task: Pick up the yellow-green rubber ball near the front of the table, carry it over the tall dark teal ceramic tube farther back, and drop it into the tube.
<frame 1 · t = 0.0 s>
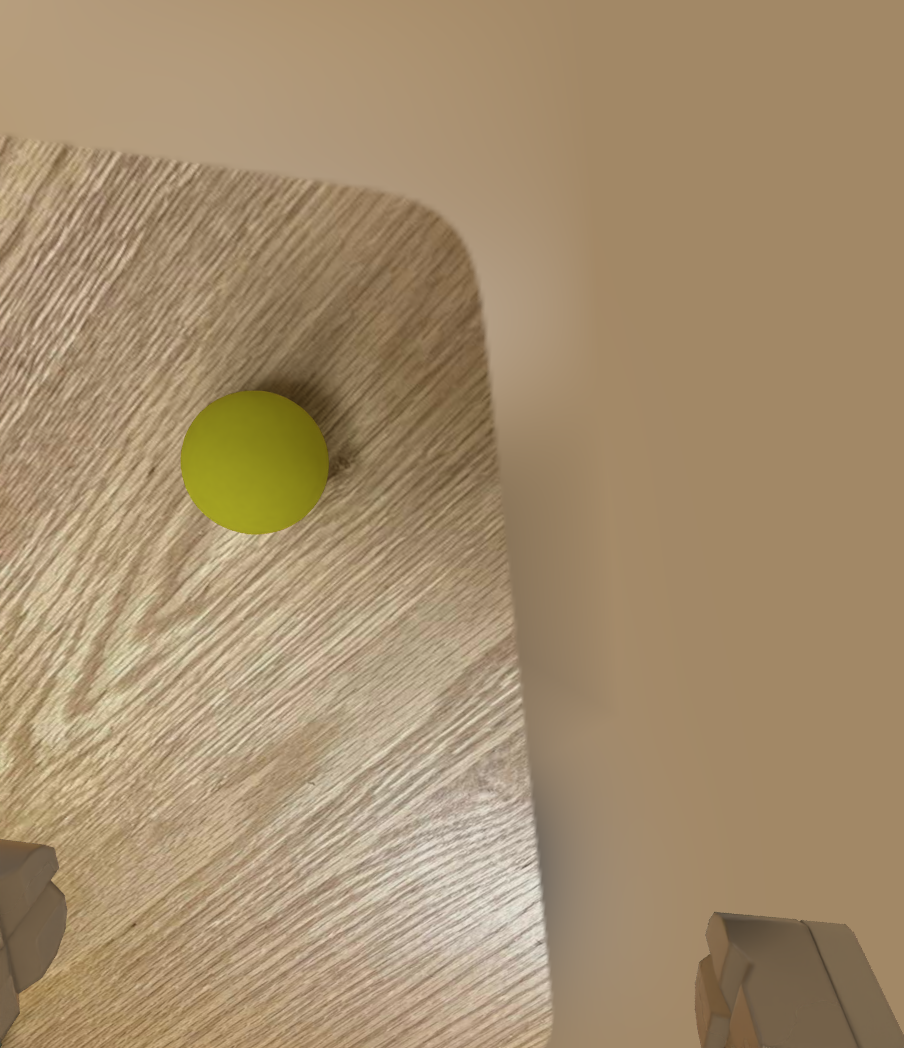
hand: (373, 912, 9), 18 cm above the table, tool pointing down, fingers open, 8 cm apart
ball: (256, 462, 24), point 2 cm above the table
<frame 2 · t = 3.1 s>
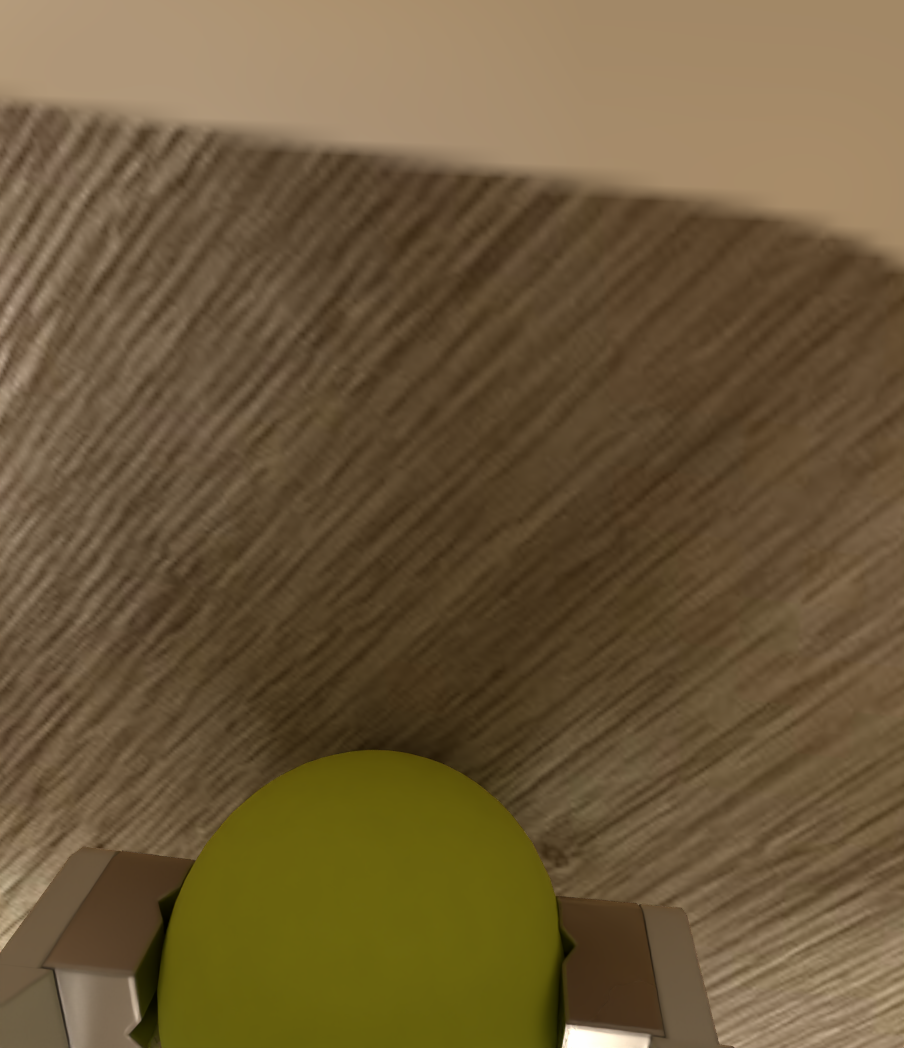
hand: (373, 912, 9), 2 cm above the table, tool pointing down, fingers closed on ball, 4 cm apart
ball: (368, 955, 9), point 2 cm above the table, touching gripper
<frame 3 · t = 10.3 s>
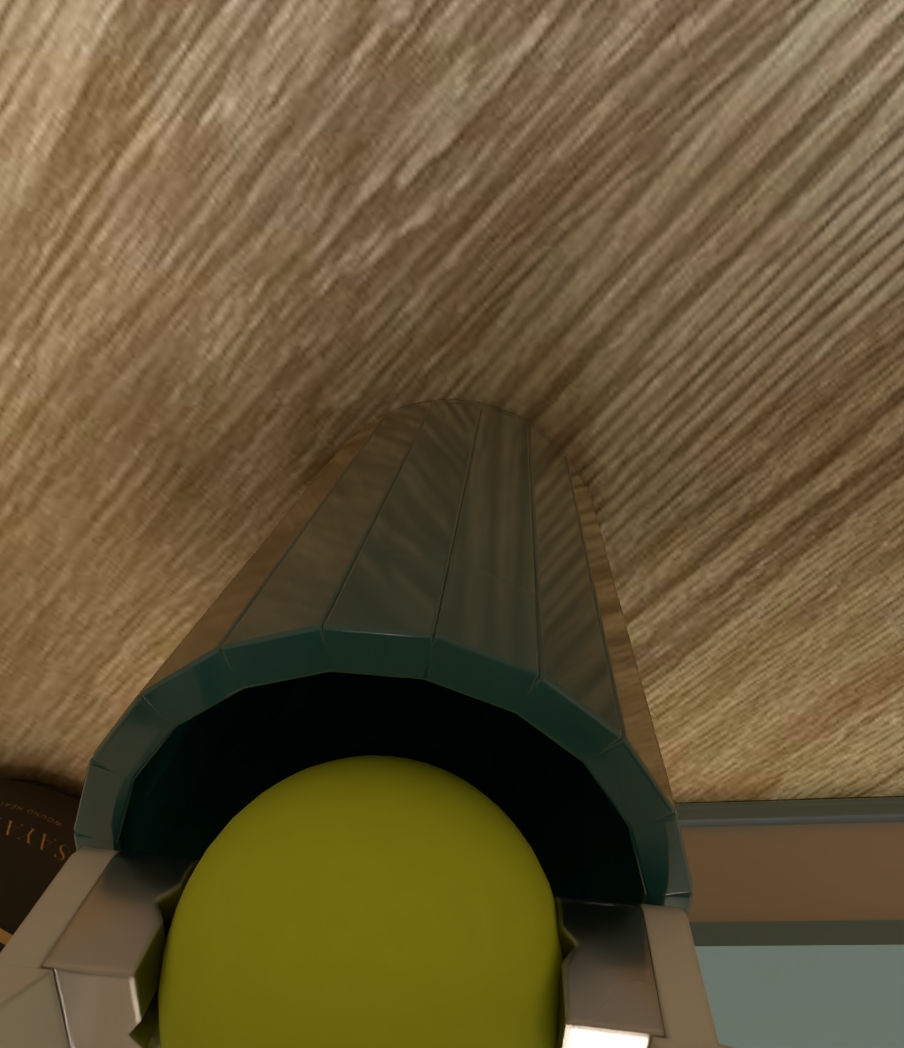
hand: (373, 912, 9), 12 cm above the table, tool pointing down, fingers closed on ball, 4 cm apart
ball: (368, 960, 9), point 13 cm above the table, touching gripper
tube: (452, 539, 21), on the table
jar: (44, 870, 27), on the table
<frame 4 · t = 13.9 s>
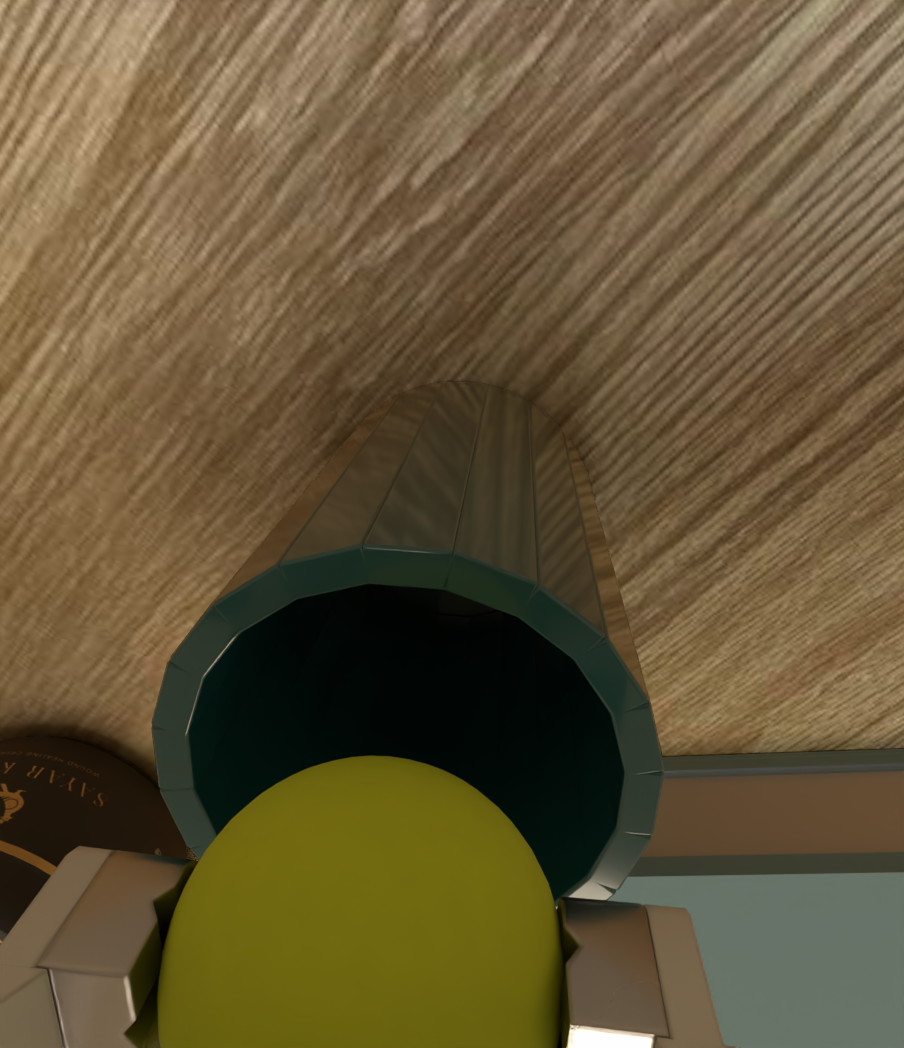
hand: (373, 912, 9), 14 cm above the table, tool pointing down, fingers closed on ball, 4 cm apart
ball: (367, 960, 9), point 15 cm above the table, touching gripper
tube: (459, 510, 23), on the table
jar: (78, 824, 29), on the table
book: (743, 991, 29), on the table
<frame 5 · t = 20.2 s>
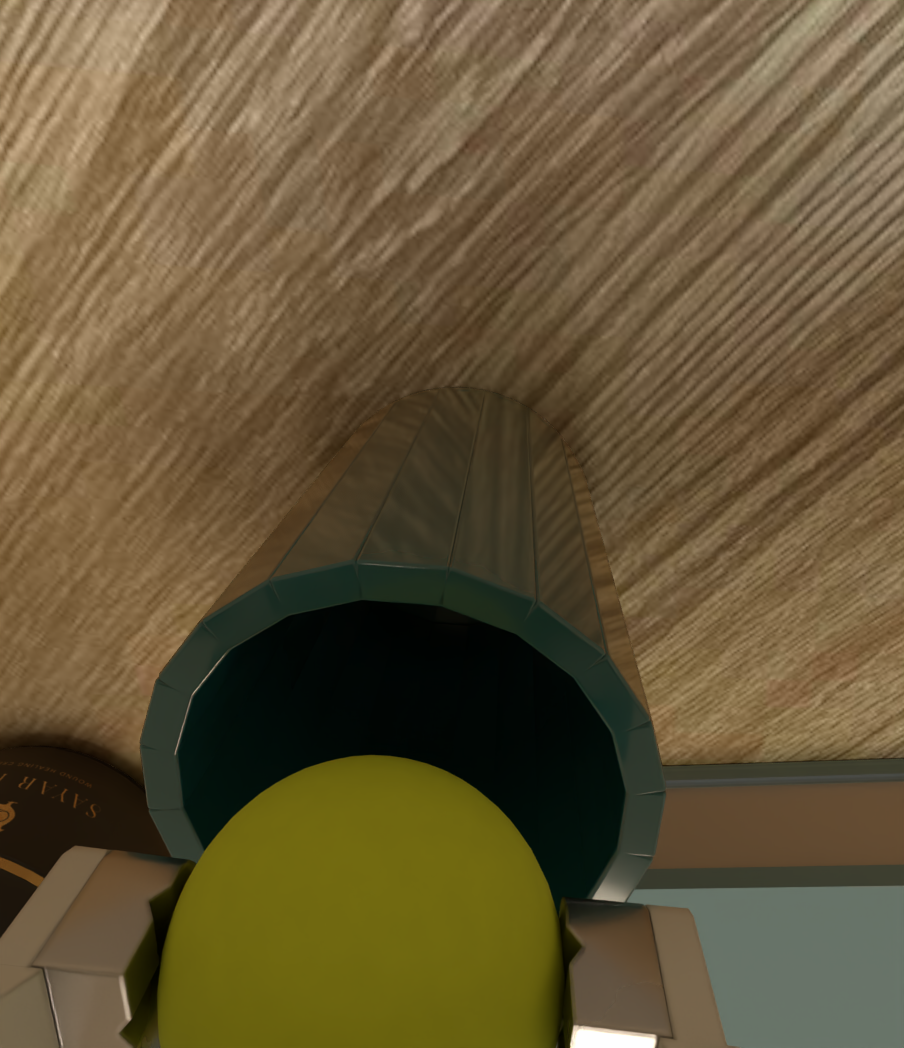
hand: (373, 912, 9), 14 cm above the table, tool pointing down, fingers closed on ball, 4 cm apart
ball: (367, 959, 9), point 15 cm above the table, touching gripper
tube: (457, 517, 22), on the table
jar: (72, 834, 28), on the table
book: (743, 1002, 29), on the table
when the fingers open (15 cm above the table, at t = 25.1 s): ball drops 13 cm, resting on tube.
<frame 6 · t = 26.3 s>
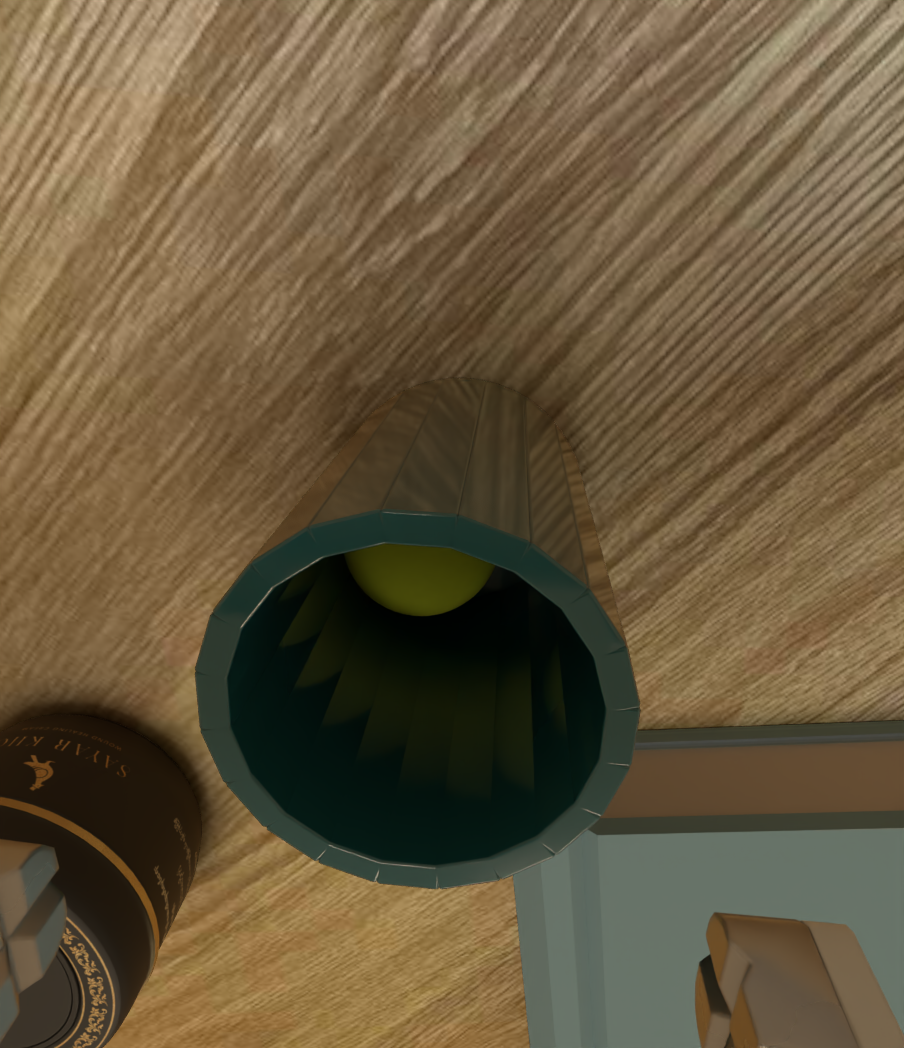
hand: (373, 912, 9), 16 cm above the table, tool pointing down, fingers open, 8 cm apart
ball: (421, 536, 22), point 3 cm above the table, tilted 27°, touching tube
tube: (460, 497, 24), on the table
jar: (99, 799, 30), on the table
book: (726, 955, 31), on the table
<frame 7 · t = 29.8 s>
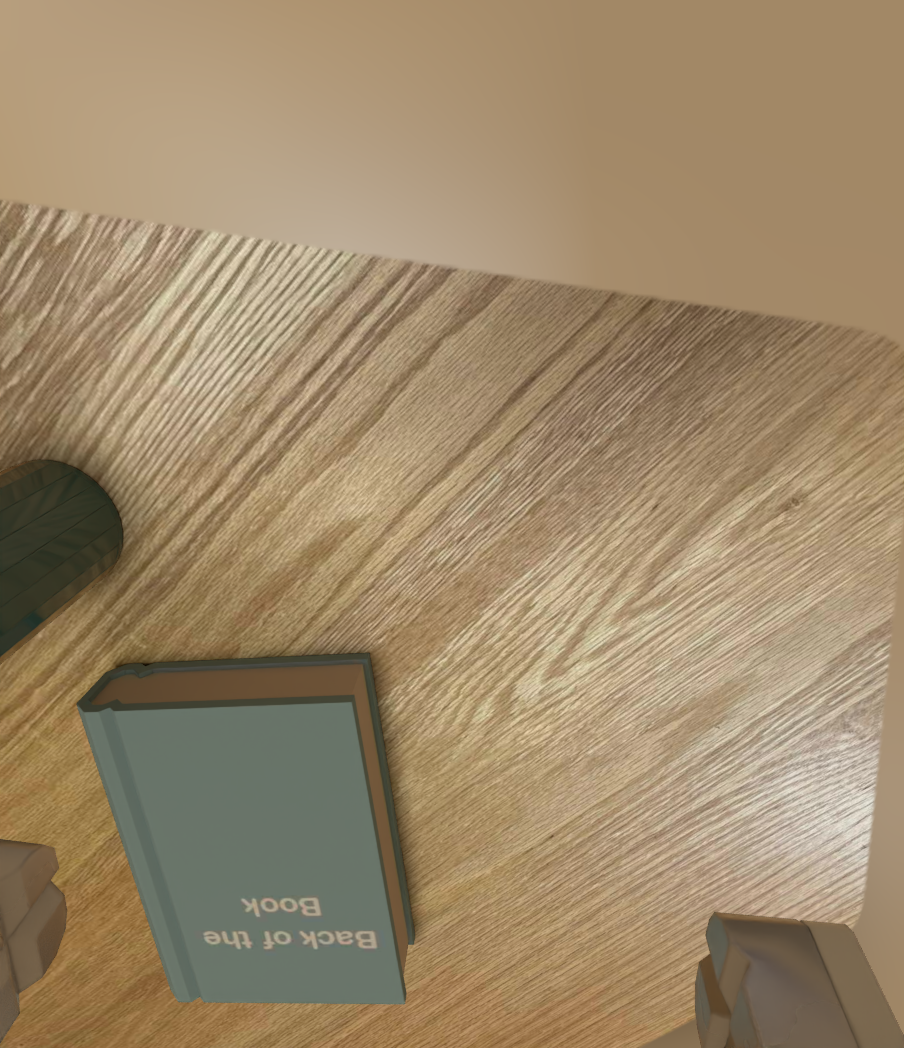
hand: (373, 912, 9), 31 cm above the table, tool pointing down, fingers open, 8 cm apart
tube: (56, 525, 43), on the table
book: (274, 806, 49), on the table
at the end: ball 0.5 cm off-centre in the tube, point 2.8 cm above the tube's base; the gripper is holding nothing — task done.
